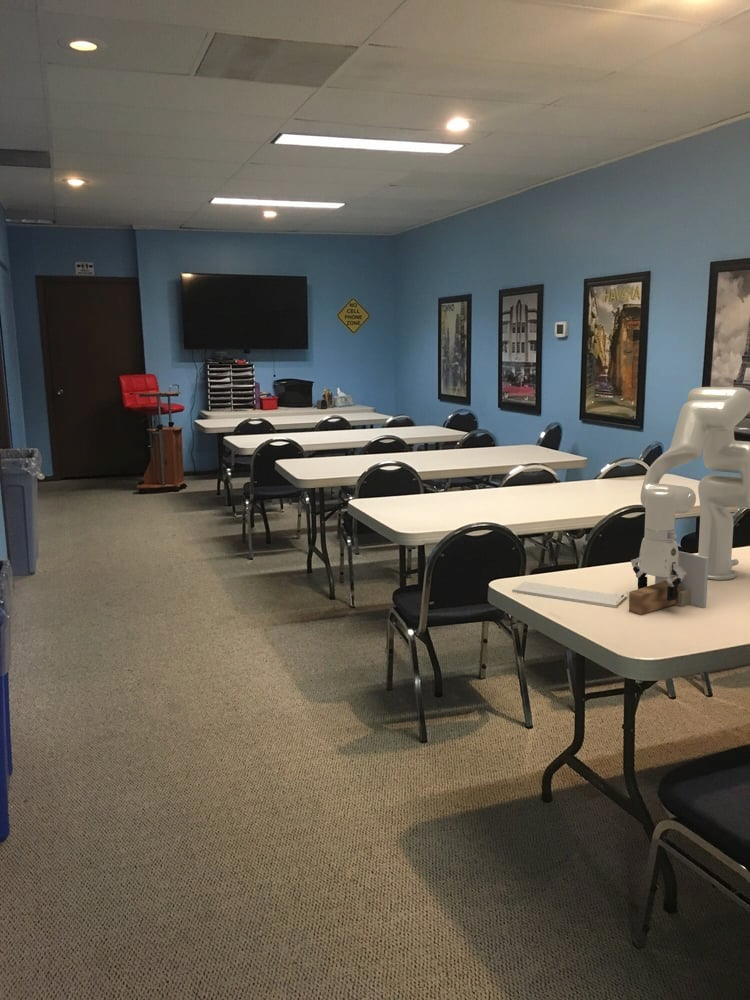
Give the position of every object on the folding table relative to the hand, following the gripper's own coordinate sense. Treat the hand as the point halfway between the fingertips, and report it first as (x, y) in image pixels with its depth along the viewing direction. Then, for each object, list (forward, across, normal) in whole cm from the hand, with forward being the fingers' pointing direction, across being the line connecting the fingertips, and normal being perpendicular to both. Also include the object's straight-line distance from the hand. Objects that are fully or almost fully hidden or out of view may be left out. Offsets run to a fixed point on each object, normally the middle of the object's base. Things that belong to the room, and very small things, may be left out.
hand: (656, 595), depth 213 cm
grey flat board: (+4, +22, +10) cm, 25 cm away
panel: (+3, 0, -8) cm, 8 cm away
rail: (+3, 0, +1) cm, 3 cm away
